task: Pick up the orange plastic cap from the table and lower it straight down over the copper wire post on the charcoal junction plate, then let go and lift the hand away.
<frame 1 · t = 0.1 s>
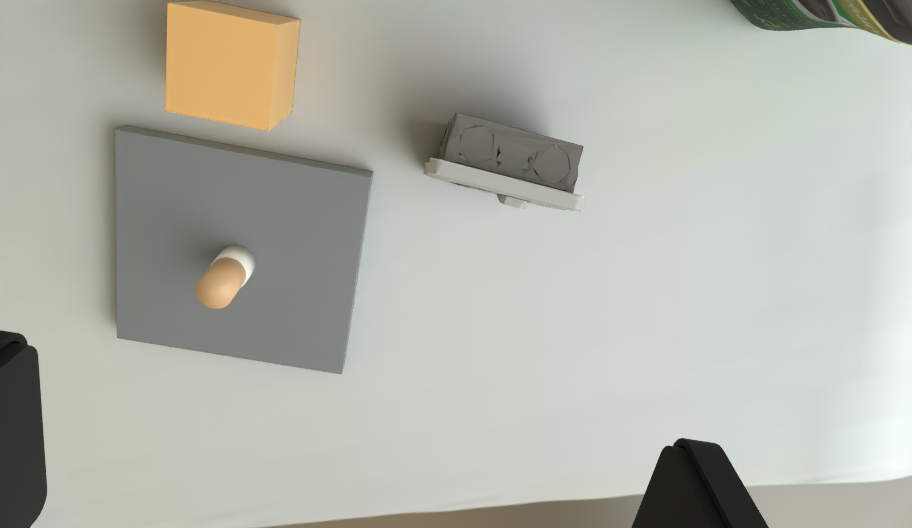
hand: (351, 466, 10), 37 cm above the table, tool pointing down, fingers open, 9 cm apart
electrical switch: (493, 150, 45), on the table
orange cap: (250, 58, 42), on the table
junction plate: (243, 253, 48), on the table
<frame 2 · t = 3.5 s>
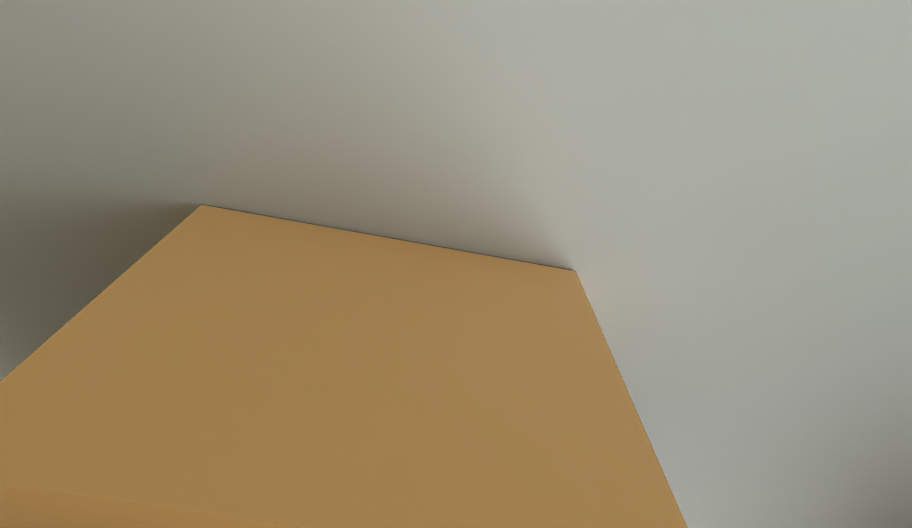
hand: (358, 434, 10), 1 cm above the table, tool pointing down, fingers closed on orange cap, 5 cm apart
orange cap: (366, 394, 11), on the table, touching gripper
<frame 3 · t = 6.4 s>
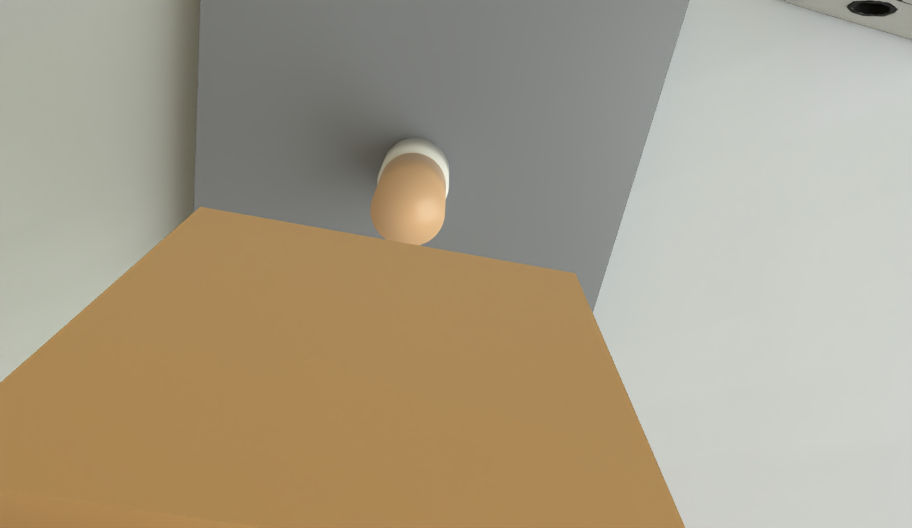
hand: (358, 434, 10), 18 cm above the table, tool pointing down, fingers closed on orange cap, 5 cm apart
orange cap: (366, 396, 11), point 17 cm above the table, touching gripper
junction plate: (418, 160, 27), on the table
when the fingers open (4 cm above the table, at t = 9.3 s): orange cap drops 1 cm, resting on junction plate.
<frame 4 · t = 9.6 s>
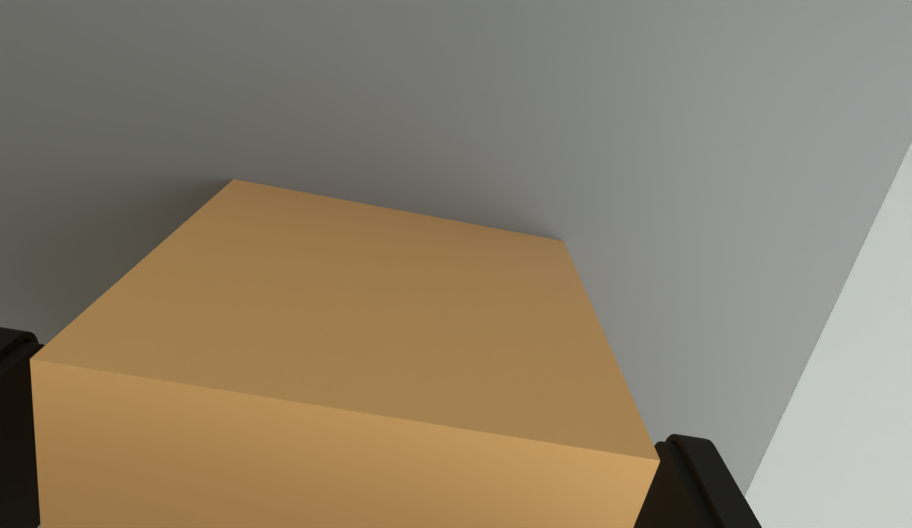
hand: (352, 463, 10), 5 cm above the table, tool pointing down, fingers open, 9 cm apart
orange cap: (377, 352, 13), point 1 cm above the table, touching junction plate
junction plate: (382, 317, 14), on the table
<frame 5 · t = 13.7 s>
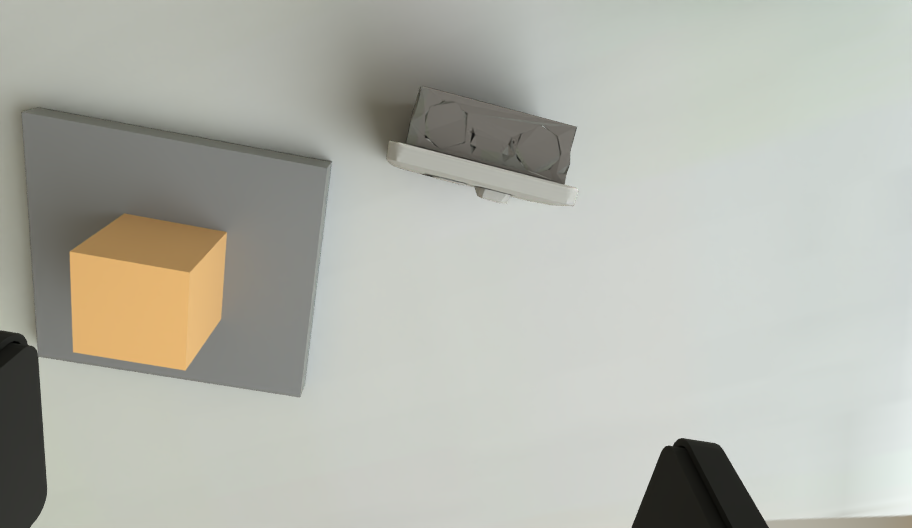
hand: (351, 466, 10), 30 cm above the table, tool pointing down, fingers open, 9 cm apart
electrical switch: (472, 136, 39), on the table
orange cap: (174, 268, 40), point 1 cm above the table, touching junction plate
junction plate: (183, 258, 41), on the table
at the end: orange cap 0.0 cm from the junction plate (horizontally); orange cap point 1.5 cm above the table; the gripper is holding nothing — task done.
